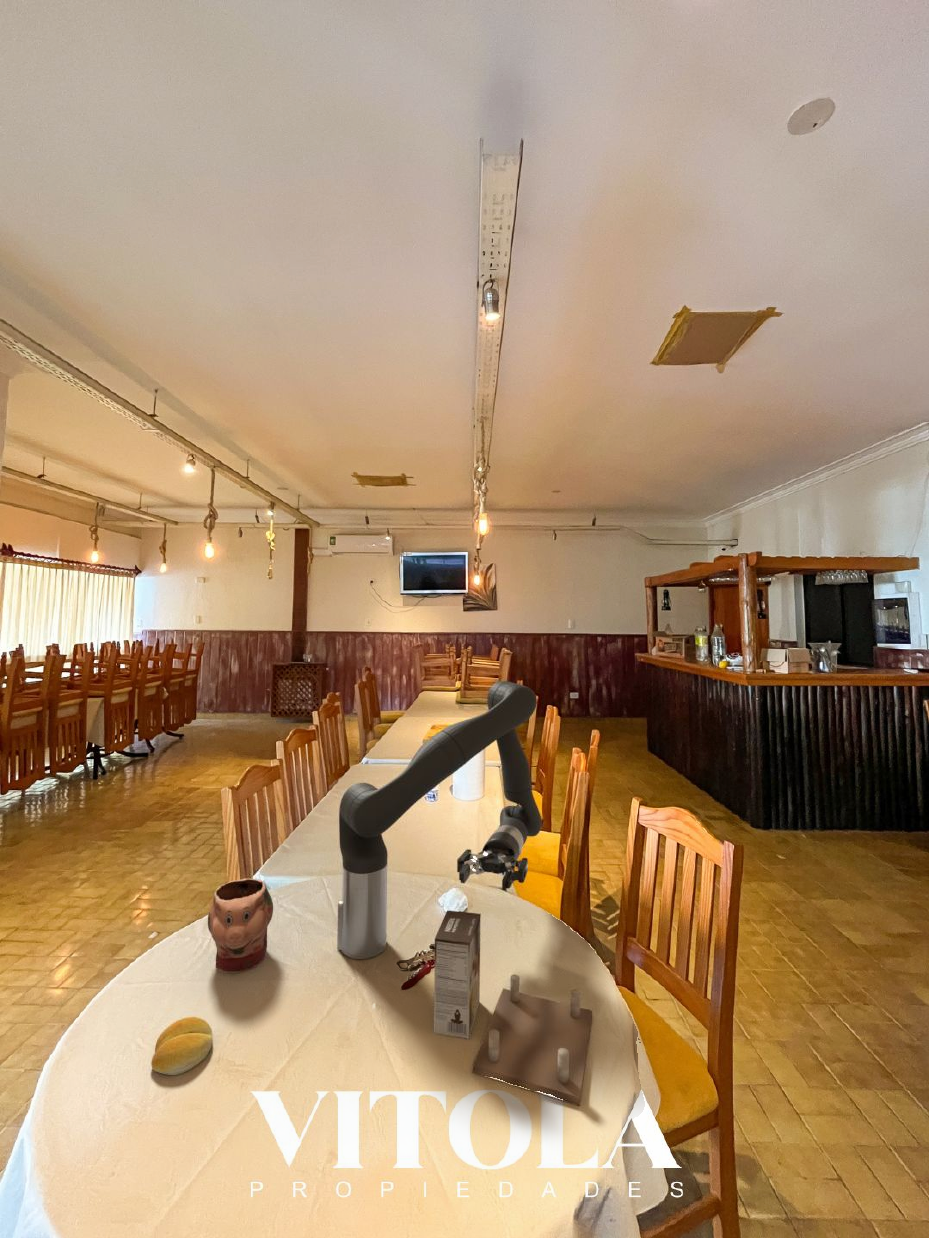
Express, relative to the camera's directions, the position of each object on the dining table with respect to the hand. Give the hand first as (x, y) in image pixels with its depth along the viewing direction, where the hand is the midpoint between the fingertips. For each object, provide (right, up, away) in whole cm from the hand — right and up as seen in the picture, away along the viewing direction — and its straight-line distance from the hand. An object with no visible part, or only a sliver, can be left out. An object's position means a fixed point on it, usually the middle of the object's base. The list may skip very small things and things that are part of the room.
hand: (482, 882), depth 106 cm
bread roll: (-48, -17, -21) cm, 55 cm away
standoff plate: (+8, -17, -18) cm, 26 cm away
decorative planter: (-49, -16, +3) cm, 52 cm away
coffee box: (-5, -17, -13) cm, 22 cm away
